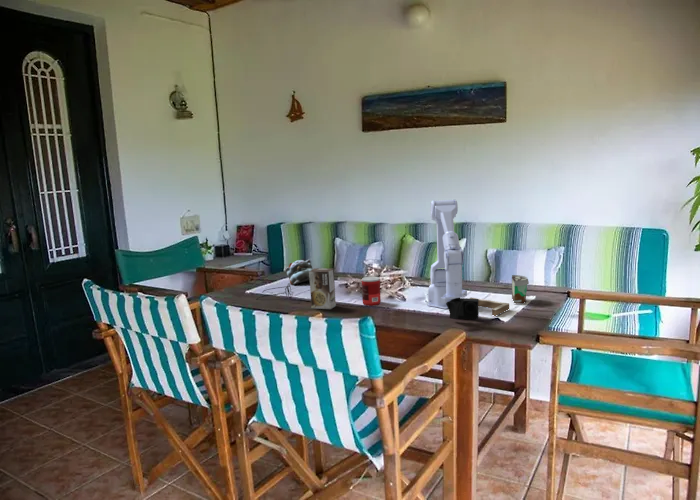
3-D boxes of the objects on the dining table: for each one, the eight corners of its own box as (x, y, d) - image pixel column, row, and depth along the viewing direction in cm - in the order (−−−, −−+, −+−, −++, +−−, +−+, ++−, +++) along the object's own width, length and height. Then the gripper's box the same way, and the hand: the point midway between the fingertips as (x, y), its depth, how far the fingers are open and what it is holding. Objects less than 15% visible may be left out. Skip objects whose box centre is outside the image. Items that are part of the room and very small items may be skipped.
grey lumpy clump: (287, 286, 266) (280, 260, 269) (293, 290, 277) (285, 265, 281) (315, 276, 265) (307, 251, 269) (319, 281, 276) (312, 256, 280)
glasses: (287, 299, 241) (285, 289, 240) (255, 304, 241) (253, 293, 240) (291, 292, 255) (289, 282, 254) (261, 296, 255) (259, 286, 255)
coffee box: (336, 305, 225) (334, 268, 222) (330, 309, 219) (329, 271, 216) (316, 304, 228) (314, 267, 225) (310, 308, 222) (308, 270, 219)
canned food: (383, 301, 228) (382, 276, 226) (376, 306, 220) (375, 280, 219) (367, 300, 231) (366, 276, 229) (359, 305, 224) (358, 279, 222)
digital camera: (449, 319, 199) (448, 301, 198) (451, 315, 204) (450, 297, 203) (477, 320, 195) (477, 302, 194) (478, 316, 200) (478, 298, 199)
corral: (456, 309, 210) (456, 303, 210) (471, 303, 218) (471, 297, 218) (495, 316, 199) (495, 309, 198) (509, 310, 207) (509, 303, 206)
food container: (530, 305, 213) (530, 281, 211) (514, 305, 214) (514, 281, 212) (526, 297, 224) (526, 274, 223) (511, 297, 226) (511, 274, 224)
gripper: (452, 287, 184) (452, 324, 186) (474, 279, 194) (474, 315, 196) (435, 284, 189) (436, 321, 191) (457, 277, 199) (457, 312, 201)
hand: (454, 318), depth 194 cm, fingers closed
